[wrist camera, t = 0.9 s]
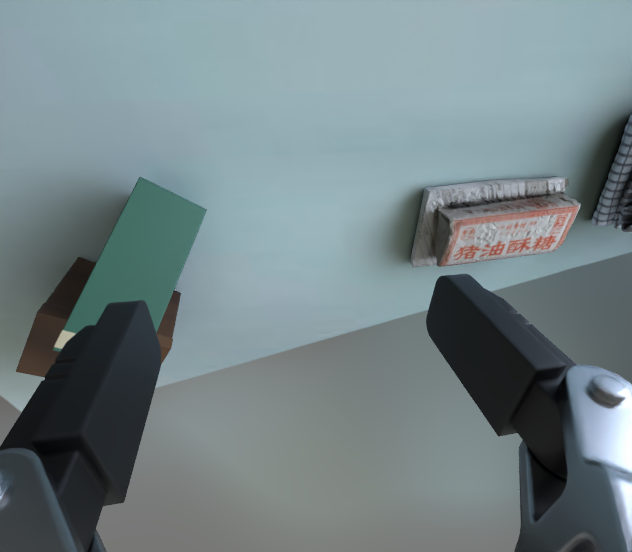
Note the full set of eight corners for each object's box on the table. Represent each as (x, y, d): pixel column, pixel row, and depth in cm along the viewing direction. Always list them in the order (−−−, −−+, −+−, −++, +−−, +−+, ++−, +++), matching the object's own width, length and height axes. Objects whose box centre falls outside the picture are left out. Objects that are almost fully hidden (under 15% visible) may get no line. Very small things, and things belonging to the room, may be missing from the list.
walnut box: (77, 256, 32) (37, 311, 25) (181, 292, 36) (171, 348, 30) (57, 308, 34) (15, 371, 27) (156, 336, 39) (142, 396, 32)
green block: (147, 165, 28) (100, 231, 18) (208, 197, 31) (199, 270, 21) (98, 276, 33) (39, 379, 23) (156, 295, 36) (126, 395, 25)
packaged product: (598, 186, 35) (559, 265, 40) (561, 172, 39) (530, 246, 44) (445, 202, 32) (426, 285, 37) (421, 185, 35) (407, 262, 41)
